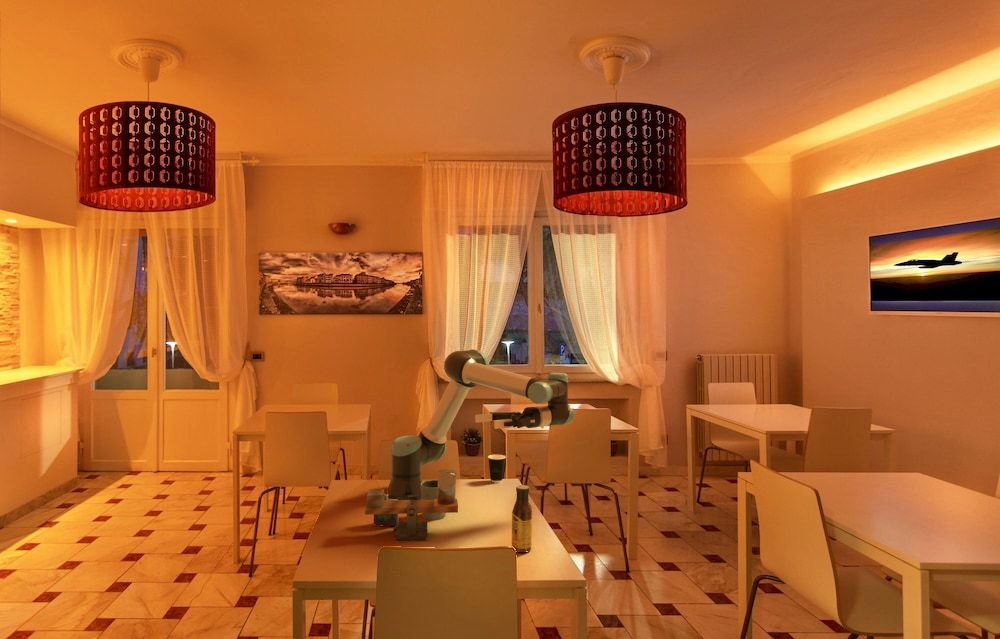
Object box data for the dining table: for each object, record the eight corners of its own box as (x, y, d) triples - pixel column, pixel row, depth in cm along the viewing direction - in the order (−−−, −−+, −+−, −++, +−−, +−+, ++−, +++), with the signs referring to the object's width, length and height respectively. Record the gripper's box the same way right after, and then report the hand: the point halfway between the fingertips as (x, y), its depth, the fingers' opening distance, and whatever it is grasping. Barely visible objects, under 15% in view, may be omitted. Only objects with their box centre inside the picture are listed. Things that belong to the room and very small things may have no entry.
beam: (364, 515, 194) (365, 496, 194) (367, 507, 202) (368, 488, 202) (457, 513, 197) (458, 494, 197) (456, 505, 205) (457, 487, 205)
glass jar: (433, 502, 200) (434, 472, 200) (444, 497, 205) (445, 468, 205) (447, 505, 197) (448, 475, 196) (458, 501, 202) (459, 471, 201)
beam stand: (395, 541, 192) (395, 507, 192) (398, 526, 206) (398, 494, 206) (426, 540, 193) (427, 506, 193) (427, 525, 207) (427, 494, 207)
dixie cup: (491, 484, 259) (492, 459, 259) (484, 480, 266) (484, 455, 266) (508, 482, 262) (508, 457, 262) (500, 478, 269) (501, 453, 269)
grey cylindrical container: (436, 510, 224) (436, 478, 224) (454, 516, 217) (454, 483, 217) (414, 516, 217) (414, 483, 217) (431, 523, 210) (432, 488, 210)
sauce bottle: (510, 546, 189) (511, 483, 189) (530, 546, 189) (530, 483, 189) (512, 554, 182) (513, 489, 182) (533, 554, 183) (533, 489, 183)
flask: (399, 525, 208) (399, 494, 208) (396, 527, 205) (396, 496, 205) (375, 522, 210) (375, 491, 210) (371, 525, 207) (371, 494, 207)
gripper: (555, 433, 208) (503, 438, 197) (517, 422, 229) (468, 426, 219) (556, 411, 208) (503, 415, 197) (517, 402, 229) (468, 406, 219)
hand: (484, 421), depth 208 cm, fingers open, 13 cm apart
